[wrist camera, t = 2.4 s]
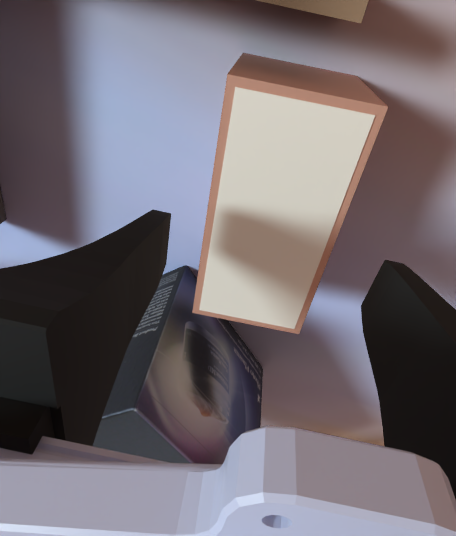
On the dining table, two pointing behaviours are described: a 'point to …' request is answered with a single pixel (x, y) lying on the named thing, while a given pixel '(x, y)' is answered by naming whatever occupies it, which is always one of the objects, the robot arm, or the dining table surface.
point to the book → (281, 187)
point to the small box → (181, 383)
